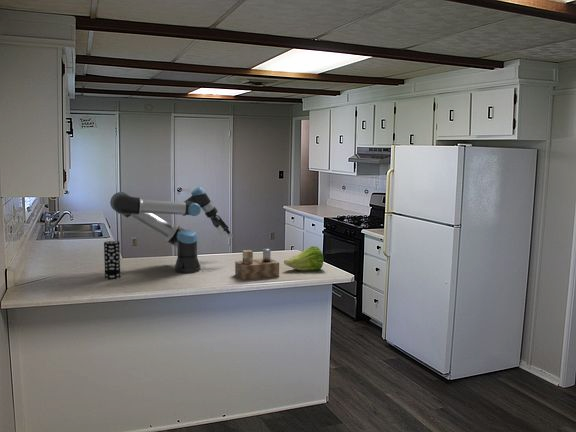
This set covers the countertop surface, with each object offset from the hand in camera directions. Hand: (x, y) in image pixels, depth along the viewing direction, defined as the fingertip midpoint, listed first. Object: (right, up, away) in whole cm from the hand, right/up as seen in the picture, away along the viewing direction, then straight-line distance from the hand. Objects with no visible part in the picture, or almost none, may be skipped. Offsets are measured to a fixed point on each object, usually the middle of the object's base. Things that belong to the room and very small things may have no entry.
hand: (227, 236), depth 342 cm
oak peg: (+15, -15, -35) cm, 41 cm away
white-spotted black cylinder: (-60, -22, -41) cm, 76 cm away
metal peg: (+26, -14, -30) cm, 42 cm away
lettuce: (+47, -20, -15) cm, 54 cm away
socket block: (+21, -22, -31) cm, 43 cm away
